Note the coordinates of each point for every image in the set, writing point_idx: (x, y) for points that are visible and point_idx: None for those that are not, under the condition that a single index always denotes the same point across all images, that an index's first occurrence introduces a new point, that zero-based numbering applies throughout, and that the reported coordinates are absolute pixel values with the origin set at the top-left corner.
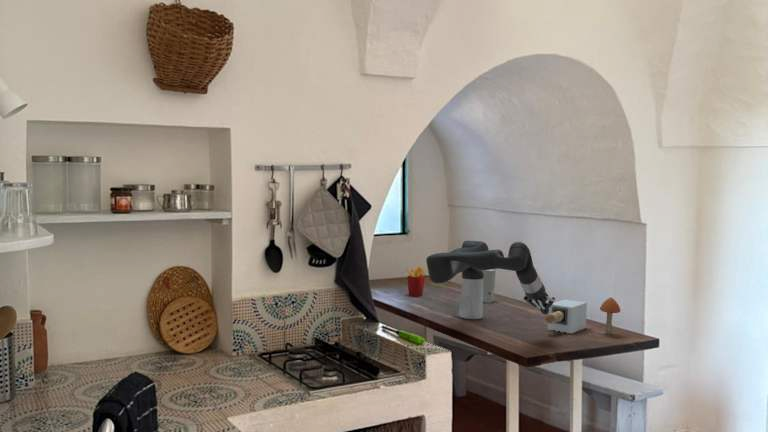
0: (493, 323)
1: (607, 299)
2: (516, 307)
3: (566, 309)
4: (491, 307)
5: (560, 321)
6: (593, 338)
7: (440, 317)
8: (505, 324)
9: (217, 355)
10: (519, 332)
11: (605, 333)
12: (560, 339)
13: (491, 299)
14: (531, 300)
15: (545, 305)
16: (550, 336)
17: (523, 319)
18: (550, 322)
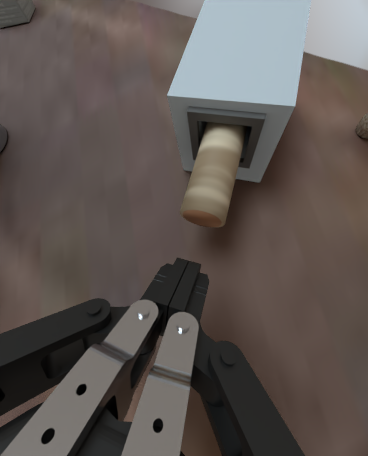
0: (34, 177)
1: None
2: (81, 22)
3: (261, 120)
4: (31, 47)
5: None
6: (348, 206)
7: None
8: (65, 171)
9: None
10: (109, 245)
11: (358, 133)
12: (252, 278)
13: (25, 8)
14: (29, 382)
15: (192, 380)
16: (210, 250)
17: (105, 101)
18: (204, 225)
